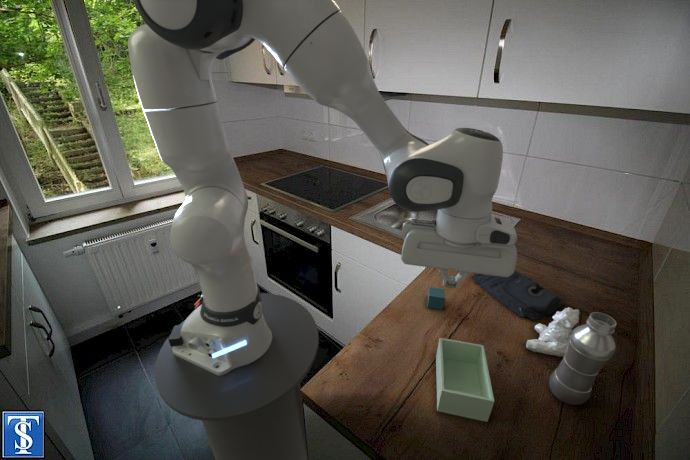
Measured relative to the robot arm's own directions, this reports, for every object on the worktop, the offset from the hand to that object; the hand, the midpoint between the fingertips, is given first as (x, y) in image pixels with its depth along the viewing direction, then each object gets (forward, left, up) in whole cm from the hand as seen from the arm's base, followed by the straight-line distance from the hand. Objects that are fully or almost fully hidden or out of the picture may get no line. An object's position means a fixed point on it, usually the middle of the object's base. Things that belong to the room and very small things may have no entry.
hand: (450, 285), depth 62 cm
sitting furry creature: (+26, +9, -20) cm, 34 cm away
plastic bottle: (+25, -4, -20) cm, 32 cm away
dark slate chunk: (+23, +29, -20) cm, 42 cm away
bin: (0, -7, -17) cm, 18 cm away
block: (0, +18, -20) cm, 27 cm away
